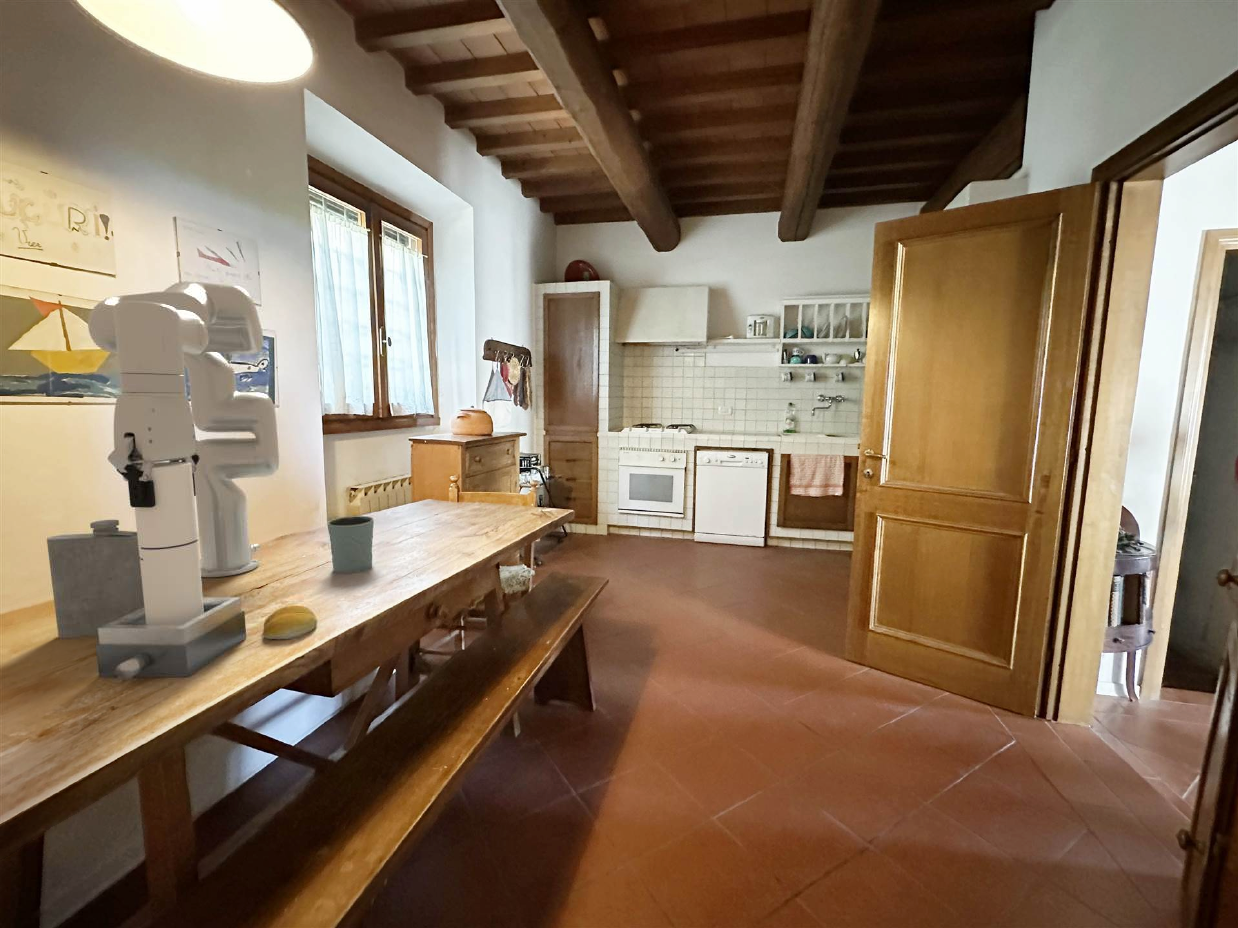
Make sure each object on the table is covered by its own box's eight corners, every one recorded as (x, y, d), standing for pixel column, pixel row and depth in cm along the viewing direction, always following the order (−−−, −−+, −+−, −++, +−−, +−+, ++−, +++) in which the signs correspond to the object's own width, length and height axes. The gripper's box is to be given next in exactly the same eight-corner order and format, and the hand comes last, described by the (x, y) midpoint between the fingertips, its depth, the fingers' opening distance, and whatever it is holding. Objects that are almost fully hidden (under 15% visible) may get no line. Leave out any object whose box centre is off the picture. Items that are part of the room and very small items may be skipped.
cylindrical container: (171, 630, 81) (156, 468, 78) (133, 625, 82) (117, 466, 79) (215, 612, 88) (203, 463, 85) (180, 607, 89) (166, 460, 86)
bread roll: (263, 646, 90) (261, 623, 89) (264, 626, 97) (263, 605, 97) (318, 635, 94) (317, 613, 94) (316, 617, 102) (315, 597, 101)
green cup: (368, 559, 138) (366, 514, 136) (381, 568, 130) (379, 521, 129) (324, 567, 131) (322, 519, 129) (336, 577, 123) (333, 527, 122)
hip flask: (53, 638, 91) (39, 525, 88) (73, 628, 95) (60, 519, 92) (157, 634, 93) (147, 523, 91) (172, 624, 97) (163, 517, 95)
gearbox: (169, 637, 92) (166, 596, 91) (246, 638, 92) (243, 596, 91) (79, 687, 76) (73, 638, 75) (172, 687, 76) (167, 638, 75)
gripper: (174, 387, 89) (184, 491, 91) (71, 385, 72) (86, 513, 74) (220, 388, 89) (228, 492, 91) (128, 386, 72) (141, 514, 74)
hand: (164, 500), depth 83 cm, fingers closed on cylindrical container, 7 cm apart
